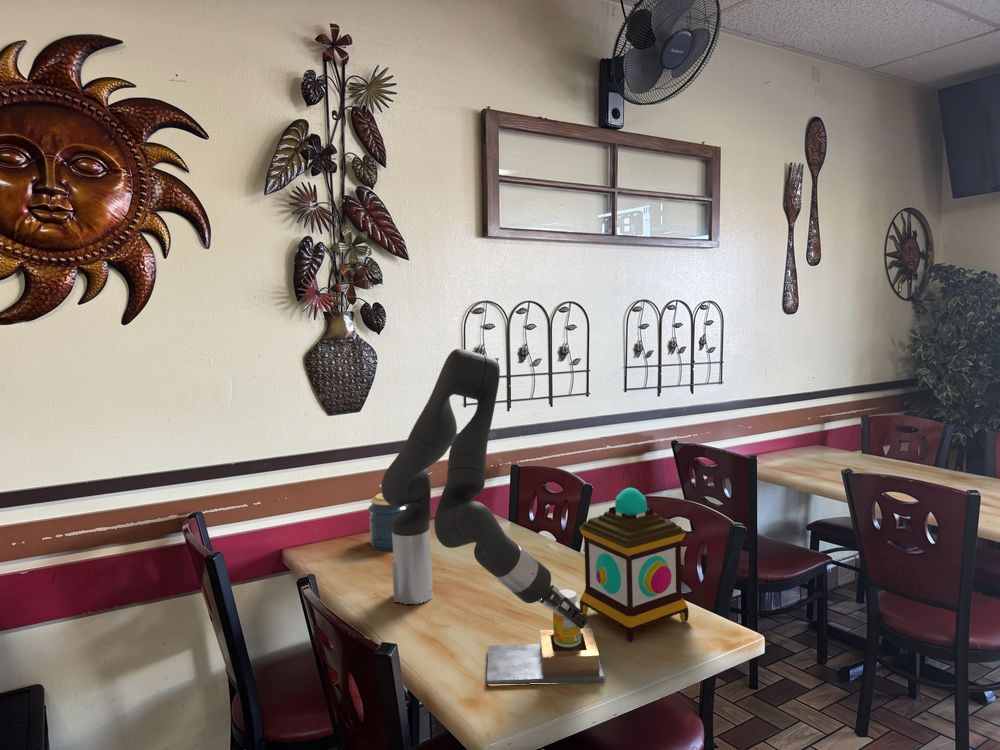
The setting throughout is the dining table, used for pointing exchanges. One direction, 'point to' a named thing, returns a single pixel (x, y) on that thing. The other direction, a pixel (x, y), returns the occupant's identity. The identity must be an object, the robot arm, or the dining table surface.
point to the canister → (382, 522)
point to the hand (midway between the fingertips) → (574, 617)
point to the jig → (545, 662)
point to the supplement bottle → (566, 624)
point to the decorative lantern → (633, 565)
